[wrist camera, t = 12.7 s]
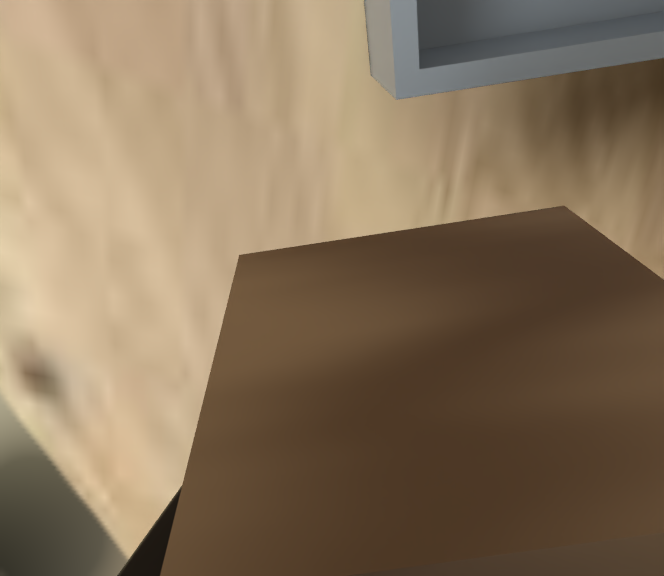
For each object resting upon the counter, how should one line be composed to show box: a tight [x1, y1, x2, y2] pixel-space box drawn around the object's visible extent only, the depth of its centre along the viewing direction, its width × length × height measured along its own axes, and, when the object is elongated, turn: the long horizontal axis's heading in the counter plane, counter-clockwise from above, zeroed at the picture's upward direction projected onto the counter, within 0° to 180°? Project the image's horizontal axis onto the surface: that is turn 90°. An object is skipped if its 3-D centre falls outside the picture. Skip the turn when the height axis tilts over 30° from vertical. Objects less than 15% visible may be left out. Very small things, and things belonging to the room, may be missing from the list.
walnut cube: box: [160, 206, 664, 576], centre depth 6 cm, size 5×5×5 cm
